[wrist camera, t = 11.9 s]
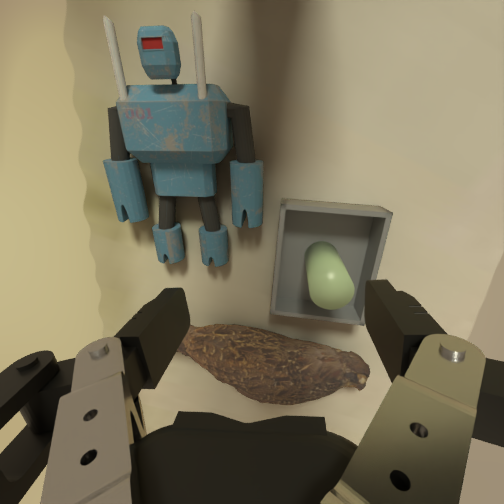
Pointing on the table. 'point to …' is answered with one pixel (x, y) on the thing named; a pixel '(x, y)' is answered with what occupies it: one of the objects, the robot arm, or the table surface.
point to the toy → (179, 145)
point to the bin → (348, 247)
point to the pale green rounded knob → (327, 276)
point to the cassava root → (273, 363)
